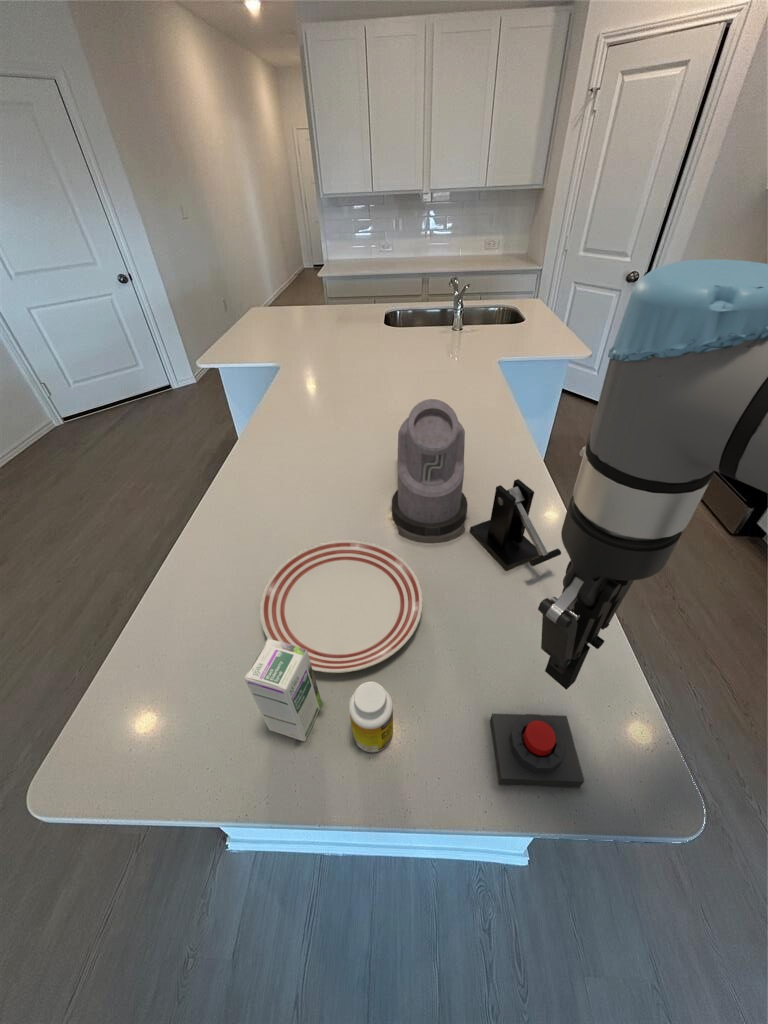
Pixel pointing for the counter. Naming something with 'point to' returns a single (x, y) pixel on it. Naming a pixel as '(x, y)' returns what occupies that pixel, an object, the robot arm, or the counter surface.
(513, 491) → the lever
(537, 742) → the button
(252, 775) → the counter surface
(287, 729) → the syrup box
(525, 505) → the bracket
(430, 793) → the counter surface
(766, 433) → the robot arm
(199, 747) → the counter surface
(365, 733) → the supplement bottle
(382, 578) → the dinner plate
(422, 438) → the grey piece
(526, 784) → the button block
